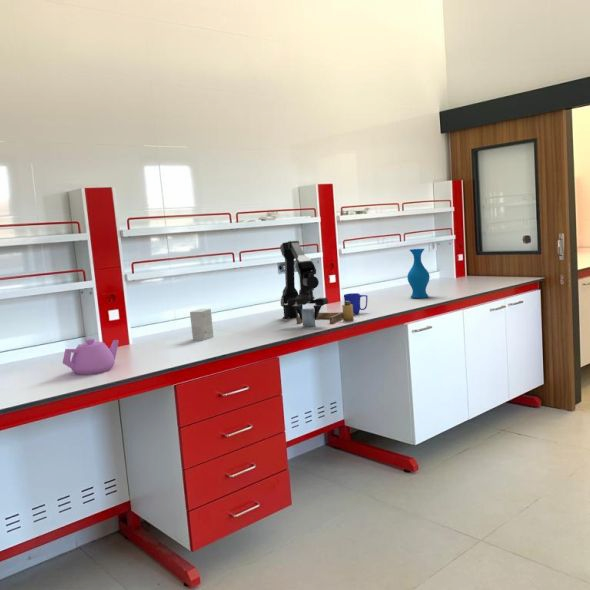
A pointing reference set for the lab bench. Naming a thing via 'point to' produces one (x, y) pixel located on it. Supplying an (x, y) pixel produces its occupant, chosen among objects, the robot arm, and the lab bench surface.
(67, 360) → the teapot
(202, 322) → the small box
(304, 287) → the robot arm
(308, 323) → the pale blue canister
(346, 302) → the reagent bottle
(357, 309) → the mug
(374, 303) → the lab bench surface
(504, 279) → the lab bench surface
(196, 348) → the lab bench surface
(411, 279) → the vase
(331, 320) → the cradle
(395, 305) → the lab bench surface
